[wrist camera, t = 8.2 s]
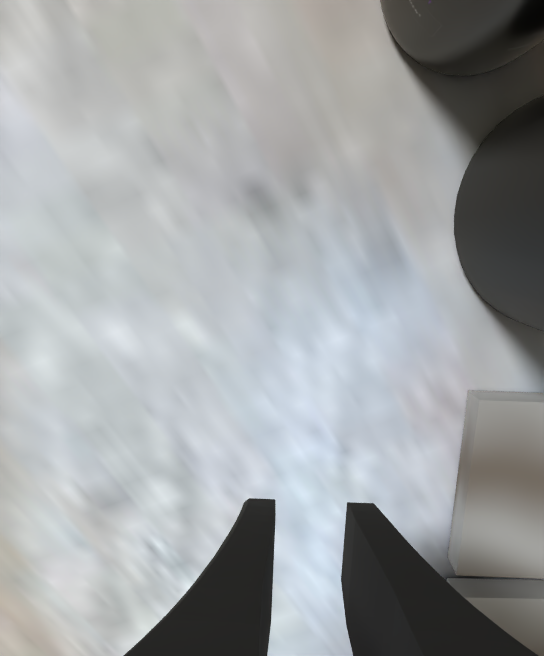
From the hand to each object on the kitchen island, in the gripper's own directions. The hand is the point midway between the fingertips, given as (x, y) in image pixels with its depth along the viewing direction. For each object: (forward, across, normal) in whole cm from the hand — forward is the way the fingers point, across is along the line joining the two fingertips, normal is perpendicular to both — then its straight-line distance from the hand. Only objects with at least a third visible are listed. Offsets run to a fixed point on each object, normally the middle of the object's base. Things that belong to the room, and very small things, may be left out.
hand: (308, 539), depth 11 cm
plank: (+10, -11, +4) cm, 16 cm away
